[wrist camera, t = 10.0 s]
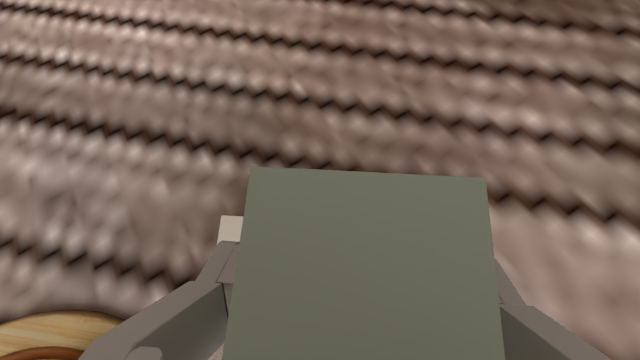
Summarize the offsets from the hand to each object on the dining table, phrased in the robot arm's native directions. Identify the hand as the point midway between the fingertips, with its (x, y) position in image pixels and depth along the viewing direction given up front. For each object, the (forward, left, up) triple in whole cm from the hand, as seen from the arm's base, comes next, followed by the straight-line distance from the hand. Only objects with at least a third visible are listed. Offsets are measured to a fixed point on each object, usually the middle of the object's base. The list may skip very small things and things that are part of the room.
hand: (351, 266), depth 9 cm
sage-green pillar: (0, +1, -5) cm, 5 cm away
